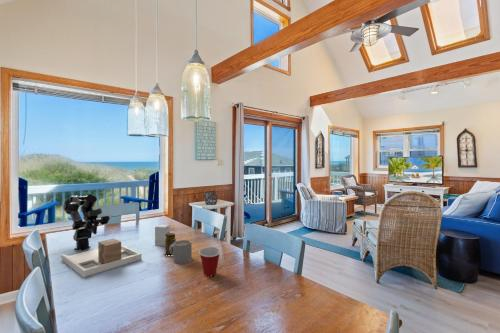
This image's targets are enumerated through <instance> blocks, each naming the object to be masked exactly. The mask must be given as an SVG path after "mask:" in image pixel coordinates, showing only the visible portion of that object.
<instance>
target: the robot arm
mask: <svg viewBox="0 0 500 333" xmlns="http://www.w3.org/2000/svg"><path fill="white" fill-rule="evenodd" d="M97 200H98V197H96V196H95V195H92V193H88V194H87V195H80V196H79V195H70V196H69V197H68V198H67V200H65V201H64V203H63V205H62V206H63V211H64V212H65V213H66V214H67V215H70V218H71V219H72V225H71V226H72V230H75V231H74V233H73V236H72V237H73V241H75V243H76V244H75V245H76V247H75V248H74V250H75V251H84V250H87V249H89V248H91V246H90V242H89V239H92V234H93V235H97V233H98V227H99V225H101V226H102V225H107V224H108V223H109V221H110V219H111V218H110V215H102V216H101V217H100V218H98V217H99V216H100V215H101V214H102V213H103V210H102V208H97V209H94V207H95V205H96V203H97ZM80 209H81V210H80ZM79 210H80V212H81V213H82V215H83V217H81V215H80V212H79ZM83 220H84V221H83Z"/></svg>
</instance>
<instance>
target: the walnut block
mask: <svg viewBox="0 0 500 333" xmlns="http://www.w3.org/2000/svg"><path fill="white" fill-rule="evenodd" d="M97 245H98V248H97V249H98V259H99V263H101V264H106V263H109V262H113V261H116V260H119V259H121V245H122V241H120V240H118V239H115V238H111V239H110V238H109V239H106V240H101V241H98V243H97Z"/></svg>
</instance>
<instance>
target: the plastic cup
mask: <svg viewBox="0 0 500 333" xmlns="http://www.w3.org/2000/svg"><path fill="white" fill-rule="evenodd" d="M221 250H222V249H220V248H219V247H216V246H206V247H203V248H201V249H200V250H198V254H199V256H200V260H201V265H202V270H203V275H206V276H211V275H214V274H215V275H216V274H217V269H218V264H219V258H220V255H221V253H222V251H221ZM215 275H214V276H215ZM206 276H205V277H206Z"/></svg>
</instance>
